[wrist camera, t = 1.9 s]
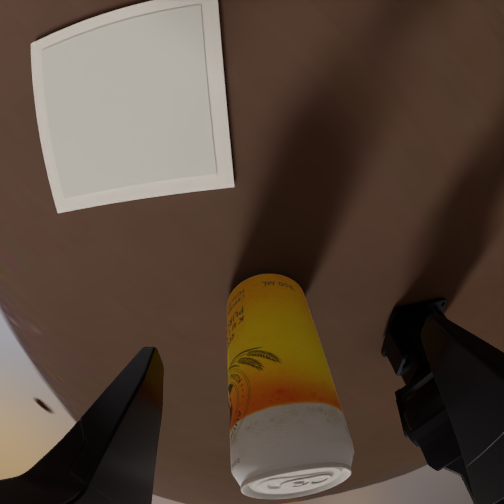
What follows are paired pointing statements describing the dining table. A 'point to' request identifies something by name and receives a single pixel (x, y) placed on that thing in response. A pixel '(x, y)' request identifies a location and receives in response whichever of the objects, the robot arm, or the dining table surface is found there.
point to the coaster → (133, 104)
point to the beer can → (281, 395)
